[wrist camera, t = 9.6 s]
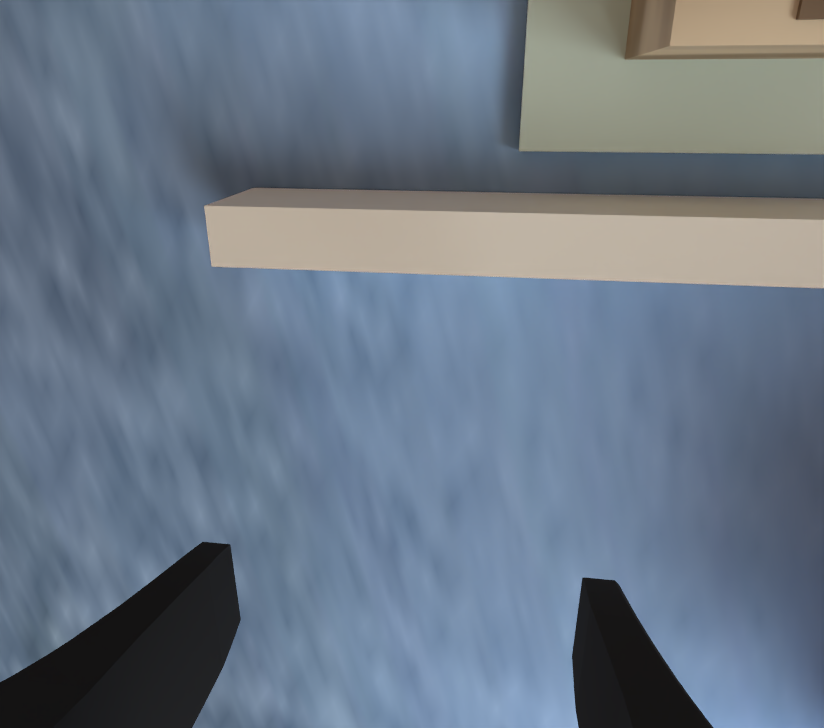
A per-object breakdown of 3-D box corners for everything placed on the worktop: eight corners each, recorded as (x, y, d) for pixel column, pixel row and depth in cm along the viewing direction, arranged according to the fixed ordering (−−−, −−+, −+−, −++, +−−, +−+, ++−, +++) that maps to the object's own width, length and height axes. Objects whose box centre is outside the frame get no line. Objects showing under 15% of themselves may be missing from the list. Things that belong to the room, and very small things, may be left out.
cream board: (1028, 262, 17) (1145, 299, 14) (258, 239, 20) (211, 266, 17) (1051, 202, 17) (1178, 228, 14) (253, 187, 20) (203, 205, 16)
